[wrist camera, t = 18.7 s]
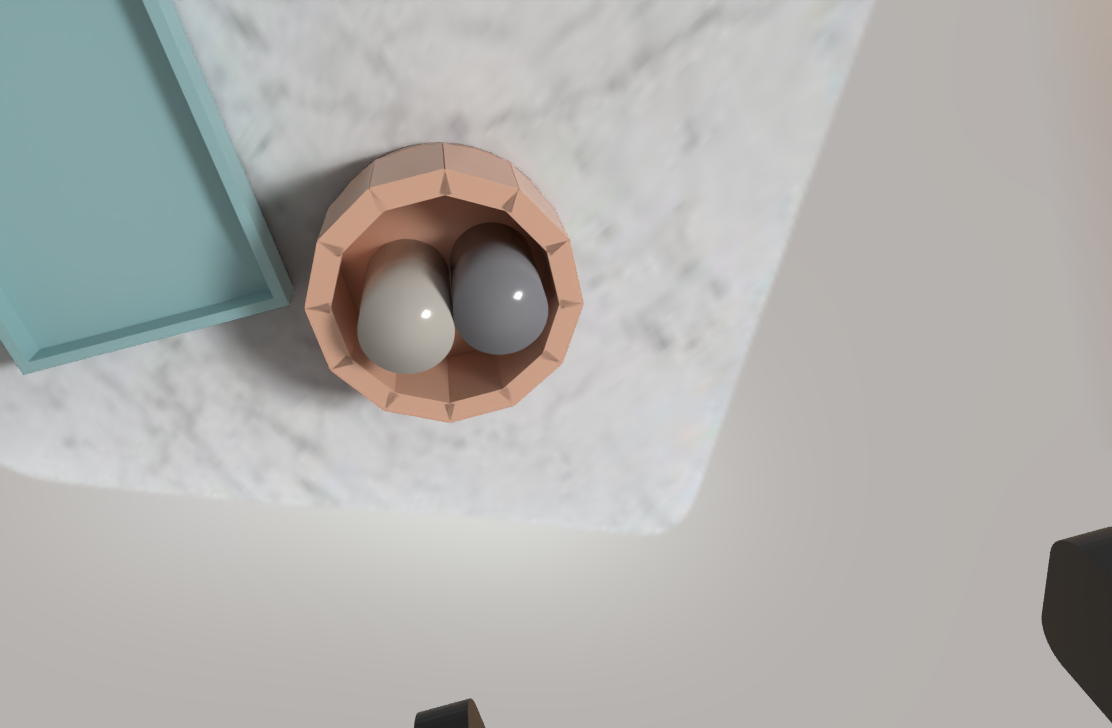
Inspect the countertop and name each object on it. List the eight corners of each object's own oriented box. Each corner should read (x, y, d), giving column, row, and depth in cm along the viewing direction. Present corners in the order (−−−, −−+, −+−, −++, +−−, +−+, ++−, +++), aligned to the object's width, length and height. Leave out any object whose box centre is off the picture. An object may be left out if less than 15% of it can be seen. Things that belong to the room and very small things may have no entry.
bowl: (284, 178, 34) (264, 214, 30) (532, 114, 34) (548, 141, 30) (368, 389, 40) (362, 446, 35) (581, 333, 40) (601, 382, 36)
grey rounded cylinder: (439, 234, 36) (441, 282, 31) (521, 213, 36) (536, 257, 31) (462, 308, 37) (467, 364, 33) (540, 288, 37) (557, 341, 33)
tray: (-201, -22, 28) (-235, -19, 27) (127, -104, 29) (112, -106, 27) (39, 356, 36) (22, 374, 35) (294, 290, 37) (289, 305, 35)
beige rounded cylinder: (355, 248, 35) (345, 299, 30) (439, 231, 35) (442, 279, 31) (378, 323, 37) (372, 382, 32) (458, 306, 37) (464, 362, 33)
